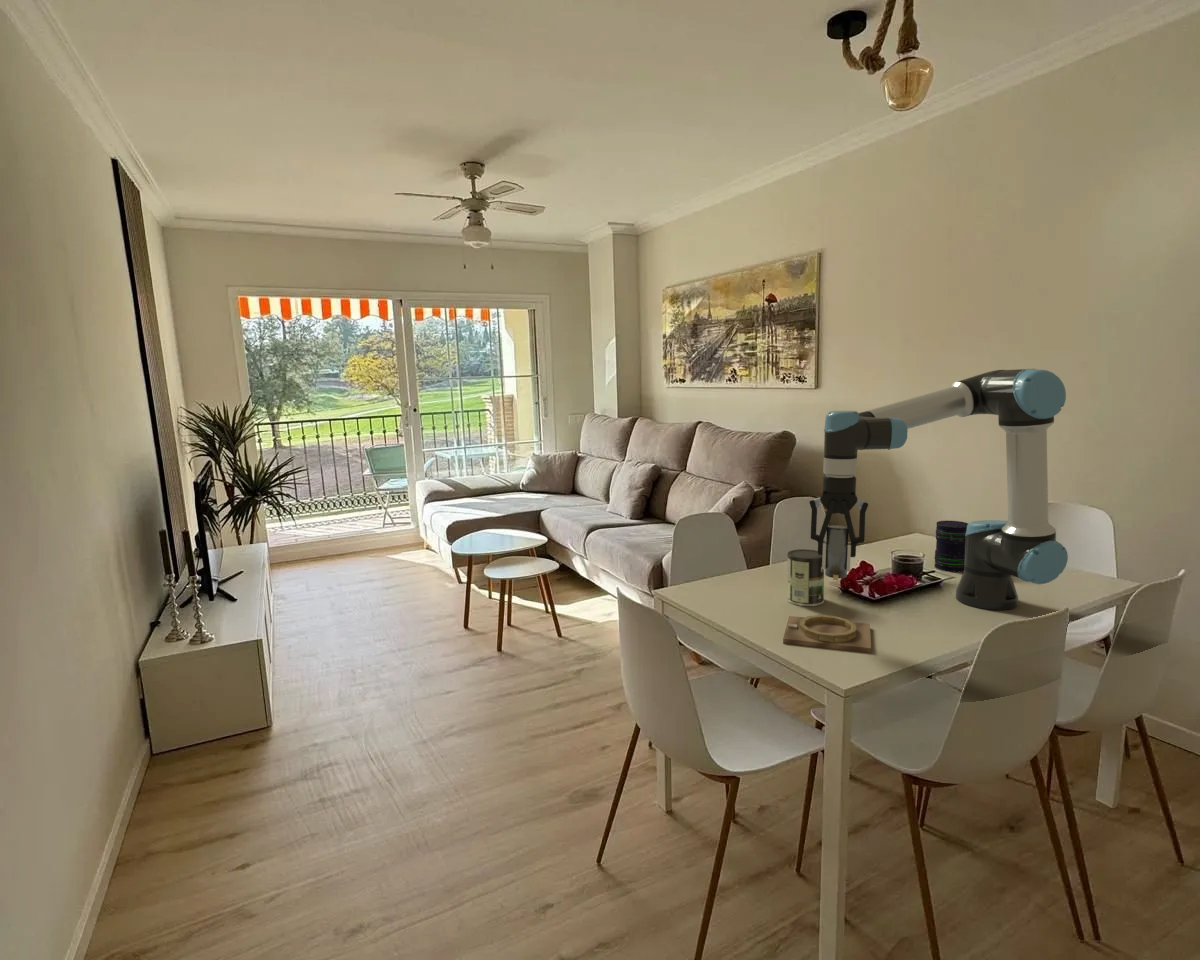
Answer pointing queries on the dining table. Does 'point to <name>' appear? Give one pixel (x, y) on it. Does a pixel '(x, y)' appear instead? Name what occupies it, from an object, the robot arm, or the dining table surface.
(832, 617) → the board
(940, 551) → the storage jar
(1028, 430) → the robot arm
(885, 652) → the dining table surface
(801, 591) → the coffee can
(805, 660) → the dining table surface
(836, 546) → the grey rounded cylinder
